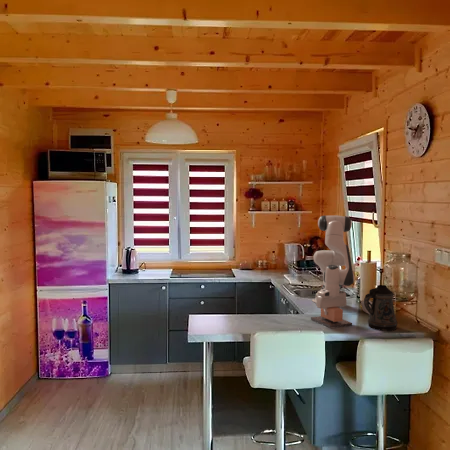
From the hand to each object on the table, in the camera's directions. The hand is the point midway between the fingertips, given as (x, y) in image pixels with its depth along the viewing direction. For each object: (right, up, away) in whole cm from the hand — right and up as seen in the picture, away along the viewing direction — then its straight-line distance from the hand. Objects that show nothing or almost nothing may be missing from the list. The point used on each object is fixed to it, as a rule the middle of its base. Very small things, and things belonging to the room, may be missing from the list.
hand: (331, 314), depth 286 cm
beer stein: (+27, -6, -10) cm, 29 cm away
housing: (0, -3, 0) cm, 3 cm away
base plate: (0, -5, 0) cm, 5 cm away
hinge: (+31, -5, +25) cm, 40 cm away
